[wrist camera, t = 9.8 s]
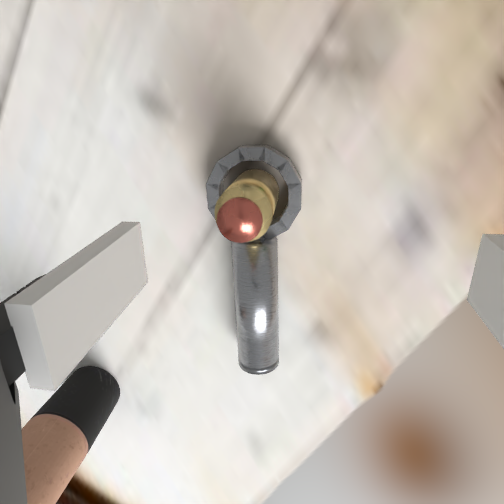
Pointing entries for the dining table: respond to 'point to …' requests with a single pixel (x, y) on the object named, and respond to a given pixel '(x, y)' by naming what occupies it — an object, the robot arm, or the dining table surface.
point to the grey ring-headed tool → (257, 262)
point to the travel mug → (65, 432)
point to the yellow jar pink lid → (247, 206)
